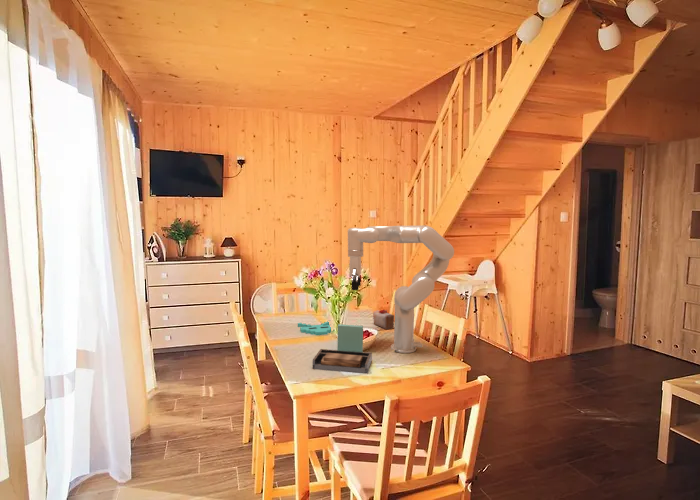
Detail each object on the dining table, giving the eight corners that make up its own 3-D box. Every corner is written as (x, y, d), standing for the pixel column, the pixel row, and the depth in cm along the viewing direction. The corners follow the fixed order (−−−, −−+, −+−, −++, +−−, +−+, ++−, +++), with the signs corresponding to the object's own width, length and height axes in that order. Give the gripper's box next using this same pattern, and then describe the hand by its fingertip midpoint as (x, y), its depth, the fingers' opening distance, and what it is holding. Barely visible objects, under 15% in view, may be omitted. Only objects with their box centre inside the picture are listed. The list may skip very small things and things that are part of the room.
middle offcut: (358, 361, 191) (359, 358, 190) (357, 366, 185) (357, 363, 185) (323, 359, 193) (323, 356, 193) (320, 364, 187) (320, 361, 187)
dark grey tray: (371, 363, 196) (371, 352, 195) (367, 375, 182) (367, 364, 181) (320, 359, 200) (320, 349, 200) (312, 371, 186) (312, 359, 186)
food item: (371, 324, 257) (371, 308, 256) (381, 322, 261) (381, 306, 260) (385, 330, 246) (385, 313, 244) (396, 328, 250) (396, 311, 249)
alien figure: (297, 326, 252) (303, 337, 233) (297, 323, 252) (303, 333, 233) (330, 324, 258) (339, 334, 239) (330, 320, 258) (339, 330, 239)
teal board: (362, 353, 208) (363, 325, 206) (361, 355, 205) (362, 327, 204) (338, 352, 210) (338, 324, 208) (337, 353, 208) (337, 325, 206)
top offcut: (362, 359, 189) (362, 355, 189) (359, 364, 184) (359, 360, 183) (327, 356, 193) (327, 352, 193) (323, 360, 187) (323, 357, 187)
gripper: (350, 251, 218) (350, 284, 220) (345, 255, 201) (346, 291, 203) (365, 251, 217) (365, 284, 219) (361, 255, 200) (362, 291, 202)
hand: (356, 287), depth 211 cm, fingers open, 9 cm apart
